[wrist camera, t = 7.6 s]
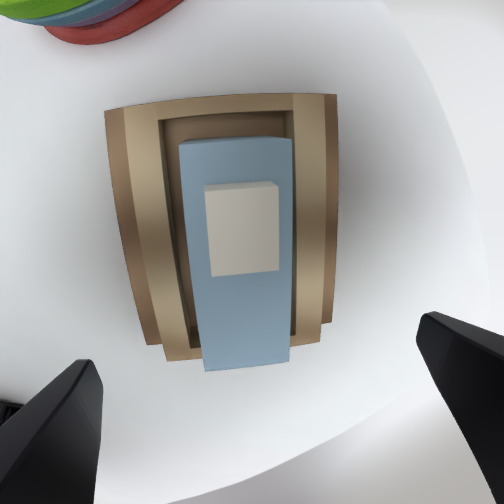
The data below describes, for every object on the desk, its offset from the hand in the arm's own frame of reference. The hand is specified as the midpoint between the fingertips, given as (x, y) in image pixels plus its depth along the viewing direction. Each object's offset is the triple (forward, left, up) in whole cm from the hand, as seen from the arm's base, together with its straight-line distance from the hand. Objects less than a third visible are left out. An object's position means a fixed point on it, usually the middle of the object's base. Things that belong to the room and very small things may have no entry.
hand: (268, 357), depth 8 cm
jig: (0, 0, -12) cm, 12 cm away
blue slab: (0, 0, -10) cm, 10 cm away
